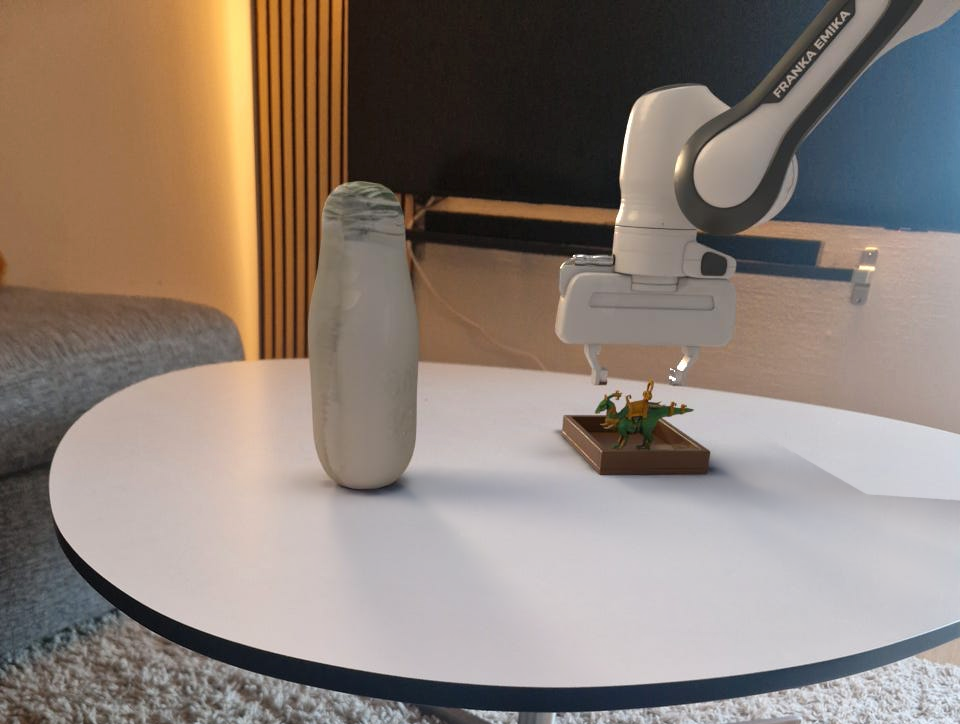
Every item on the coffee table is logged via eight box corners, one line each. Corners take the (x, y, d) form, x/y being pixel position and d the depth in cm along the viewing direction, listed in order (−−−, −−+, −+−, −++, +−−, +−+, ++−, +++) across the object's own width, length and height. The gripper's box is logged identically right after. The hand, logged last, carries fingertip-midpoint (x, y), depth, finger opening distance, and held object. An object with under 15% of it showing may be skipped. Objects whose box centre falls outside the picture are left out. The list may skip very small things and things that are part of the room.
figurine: (588, 445, 111) (594, 376, 107) (684, 446, 113) (693, 377, 109) (594, 452, 108) (601, 381, 105) (692, 453, 110) (702, 383, 106)
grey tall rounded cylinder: (393, 506, 89) (393, 182, 77) (298, 492, 92) (283, 177, 80) (430, 479, 98) (435, 184, 85) (341, 467, 100) (334, 180, 88)
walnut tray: (707, 473, 104) (710, 451, 103) (599, 474, 102) (601, 451, 101) (656, 435, 120) (658, 415, 119) (561, 435, 118) (563, 414, 117)
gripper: (567, 255, 97) (557, 389, 103) (750, 261, 100) (730, 391, 106) (553, 251, 102) (544, 378, 109) (727, 257, 106) (709, 380, 112)
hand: (637, 385), depth 107 cm, fingers open, 8 cm apart
